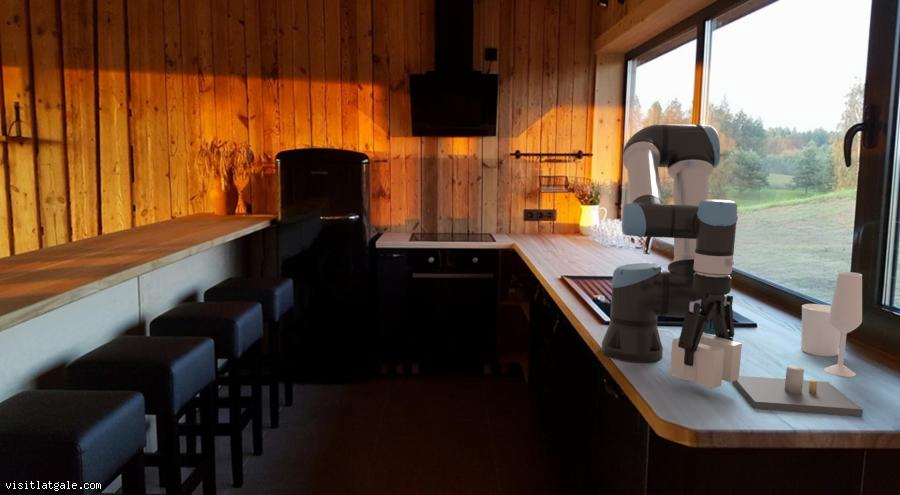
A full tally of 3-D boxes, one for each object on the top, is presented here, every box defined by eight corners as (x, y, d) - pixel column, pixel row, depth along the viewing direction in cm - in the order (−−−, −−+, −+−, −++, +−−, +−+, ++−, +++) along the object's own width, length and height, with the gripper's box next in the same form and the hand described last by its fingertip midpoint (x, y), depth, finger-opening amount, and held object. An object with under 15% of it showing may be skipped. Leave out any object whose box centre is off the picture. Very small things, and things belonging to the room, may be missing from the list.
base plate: (754, 408, 127) (757, 377, 126) (731, 381, 142) (734, 354, 141) (862, 416, 124) (865, 384, 123) (827, 388, 139) (830, 360, 138)
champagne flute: (843, 378, 146) (854, 276, 143) (817, 369, 152) (826, 271, 149) (862, 374, 149) (873, 275, 146) (835, 366, 155) (845, 270, 152)
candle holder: (846, 359, 161) (851, 313, 160) (805, 355, 163) (809, 310, 162) (831, 348, 171) (836, 305, 169) (792, 345, 173) (796, 302, 171)
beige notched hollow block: (670, 374, 137) (672, 339, 136) (696, 366, 143) (699, 332, 141) (712, 389, 129) (715, 351, 128) (738, 379, 135) (741, 343, 133)
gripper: (697, 282, 123) (689, 390, 126) (757, 271, 136) (748, 369, 139) (664, 276, 129) (657, 379, 132) (725, 265, 142) (717, 360, 145)
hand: (704, 374), depth 136 cm, fingers closed on beige notched hollow block, 10 cm apart
